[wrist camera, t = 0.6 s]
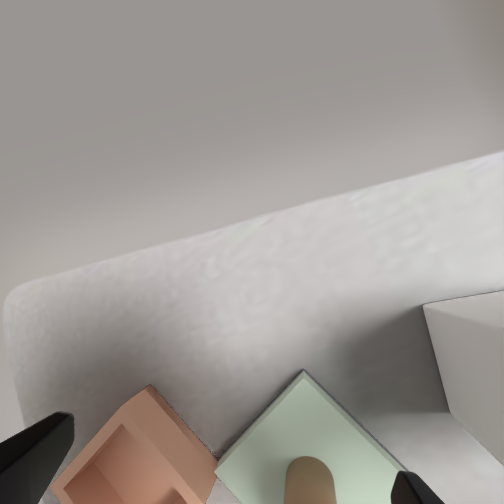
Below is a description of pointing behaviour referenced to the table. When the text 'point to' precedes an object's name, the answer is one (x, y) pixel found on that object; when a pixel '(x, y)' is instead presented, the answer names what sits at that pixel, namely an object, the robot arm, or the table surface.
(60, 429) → the robot arm
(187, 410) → the table surface
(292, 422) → the lid
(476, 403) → the milk carton
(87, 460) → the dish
